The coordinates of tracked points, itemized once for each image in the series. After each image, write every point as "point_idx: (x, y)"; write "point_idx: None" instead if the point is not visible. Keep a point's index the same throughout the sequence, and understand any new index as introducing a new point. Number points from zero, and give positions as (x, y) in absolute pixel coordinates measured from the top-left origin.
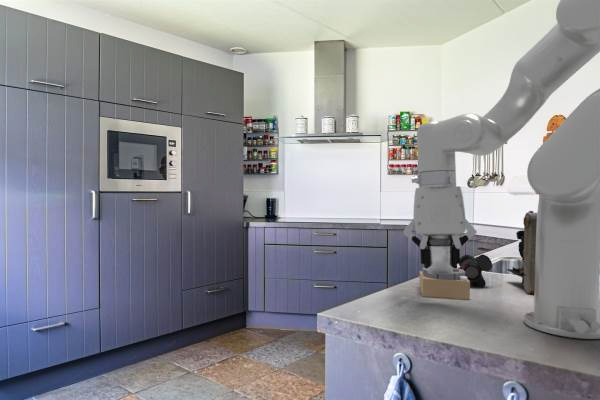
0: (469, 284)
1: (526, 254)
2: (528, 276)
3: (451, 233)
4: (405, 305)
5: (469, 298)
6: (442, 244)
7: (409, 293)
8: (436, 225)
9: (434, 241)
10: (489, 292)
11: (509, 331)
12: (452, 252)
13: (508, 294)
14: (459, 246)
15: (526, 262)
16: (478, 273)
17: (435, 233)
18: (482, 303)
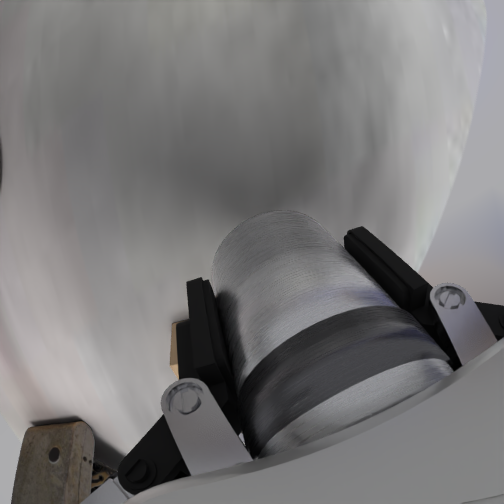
0: (171, 357)
1: (80, 500)
2: (76, 452)
3: (261, 468)
4: (354, 140)
5: (172, 325)
6: (326, 331)
7: None
8: (497, 466)
9: (408, 332)
10: (150, 408)
11: (30, 30)
12: (228, 360)
13: (110, 407)
14: (176, 398)
15: (80, 483)
16: None
17: (456, 381)
18: (129, 301)
